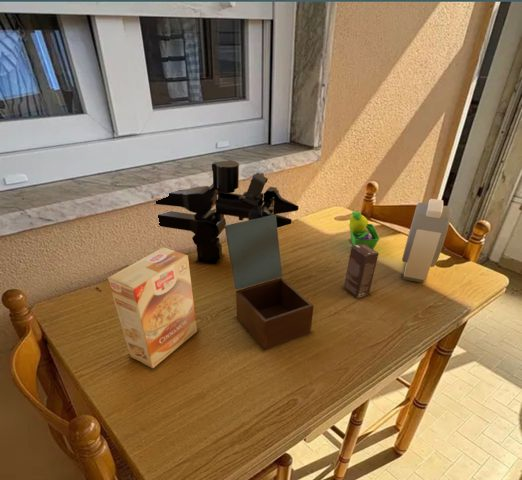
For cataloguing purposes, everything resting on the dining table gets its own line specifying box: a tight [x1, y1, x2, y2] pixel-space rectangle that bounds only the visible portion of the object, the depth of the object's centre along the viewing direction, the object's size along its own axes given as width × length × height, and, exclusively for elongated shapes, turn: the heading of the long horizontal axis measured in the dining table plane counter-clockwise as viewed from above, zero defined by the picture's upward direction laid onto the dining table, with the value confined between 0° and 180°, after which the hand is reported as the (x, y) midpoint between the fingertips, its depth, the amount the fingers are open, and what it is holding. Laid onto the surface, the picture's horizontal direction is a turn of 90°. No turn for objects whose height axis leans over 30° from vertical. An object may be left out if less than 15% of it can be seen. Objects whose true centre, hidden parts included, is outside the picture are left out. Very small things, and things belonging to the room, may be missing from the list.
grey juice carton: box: [401, 198, 453, 284], centre depth 103 cm, size 18×8×20 cm, turn 158°
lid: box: [224, 214, 283, 291], centre depth 86 cm, size 14×12×1 cm
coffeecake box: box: [107, 246, 198, 369], centre depth 78 cm, size 15×7×20 cm, turn 148°
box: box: [343, 244, 380, 299], centre depth 98 cm, size 6×4×12 cm
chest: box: [235, 277, 315, 350], centre depth 88 cm, size 13×12×8 cm
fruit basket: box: [348, 211, 380, 250], centre depth 118 cm, size 11×9×11 cm
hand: (295, 214), depth 99 cm, fingers open, 9 cm apart
